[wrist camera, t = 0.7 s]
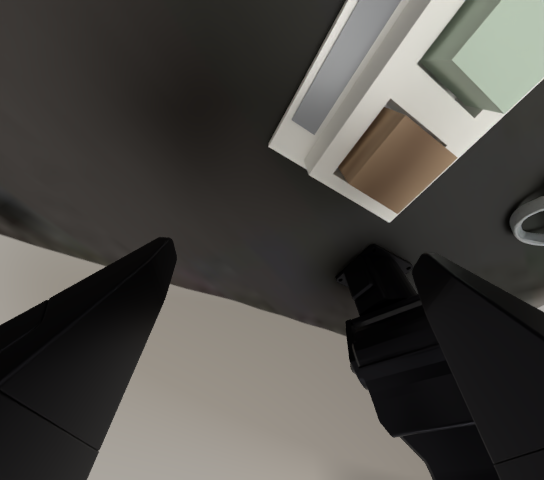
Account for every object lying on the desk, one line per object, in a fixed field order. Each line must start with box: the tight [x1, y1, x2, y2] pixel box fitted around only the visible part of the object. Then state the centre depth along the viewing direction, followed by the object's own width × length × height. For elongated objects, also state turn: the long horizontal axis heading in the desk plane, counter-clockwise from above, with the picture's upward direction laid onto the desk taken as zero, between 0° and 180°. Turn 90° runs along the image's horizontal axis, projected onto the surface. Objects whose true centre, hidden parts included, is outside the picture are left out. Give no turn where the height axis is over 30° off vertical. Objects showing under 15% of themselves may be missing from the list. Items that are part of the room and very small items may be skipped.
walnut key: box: [338, 107, 457, 214], centre depth 15 cm, size 4×4×3 cm
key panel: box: [268, 0, 544, 223], centre depth 14 cm, size 11×16×4 cm
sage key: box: [419, 0, 544, 114], centre depth 11 cm, size 4×4×3 cm
